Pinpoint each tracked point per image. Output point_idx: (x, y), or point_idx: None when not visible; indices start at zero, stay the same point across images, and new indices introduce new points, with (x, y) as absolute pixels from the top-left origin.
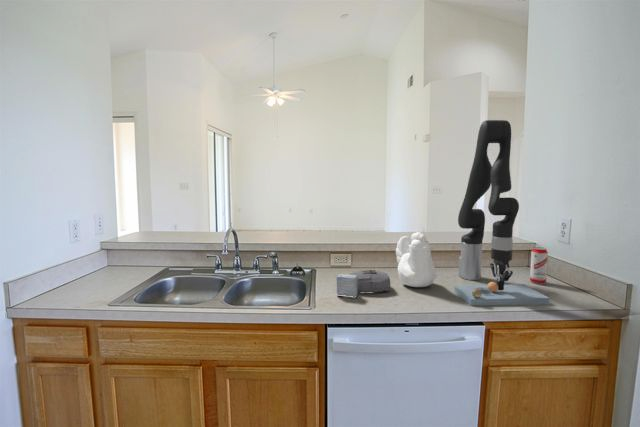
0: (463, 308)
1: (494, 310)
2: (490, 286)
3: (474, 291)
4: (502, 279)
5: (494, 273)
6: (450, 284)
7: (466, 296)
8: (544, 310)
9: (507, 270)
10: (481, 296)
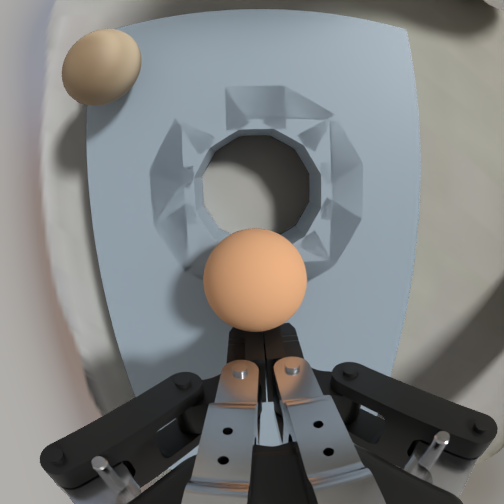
0: (82, 14)
1: (44, 169)
2: (222, 246)
3: (79, 40)
4: (152, 388)
5: (359, 393)
6: (491, 101)
7: (166, 20)
8: (93, 399)
9: (65, 492)
10: (134, 119)
